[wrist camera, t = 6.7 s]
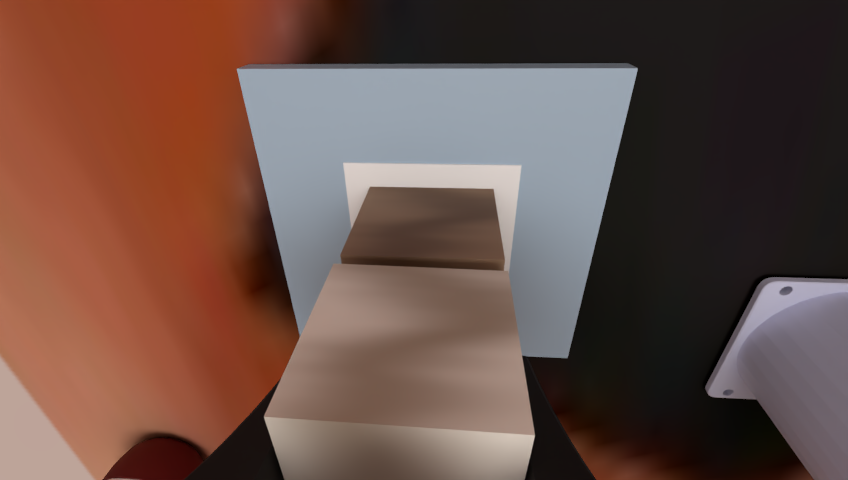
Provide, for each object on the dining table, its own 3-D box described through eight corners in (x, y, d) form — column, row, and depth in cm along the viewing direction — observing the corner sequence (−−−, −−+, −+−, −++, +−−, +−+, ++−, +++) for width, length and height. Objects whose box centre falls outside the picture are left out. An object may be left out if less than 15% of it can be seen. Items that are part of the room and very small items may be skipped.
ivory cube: (508, 271, 12) (535, 435, 7) (493, 388, 14) (506, 559, 10) (333, 263, 12) (263, 416, 8) (349, 379, 15) (304, 541, 10)
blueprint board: (627, 63, 15) (638, 68, 14) (563, 343, 22) (567, 359, 21) (248, 64, 16) (235, 69, 15) (307, 332, 23) (301, 347, 22)
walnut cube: (493, 188, 17) (504, 259, 12) (485, 287, 19) (492, 373, 15) (370, 186, 17) (340, 255, 13) (378, 283, 20) (356, 366, 15)
